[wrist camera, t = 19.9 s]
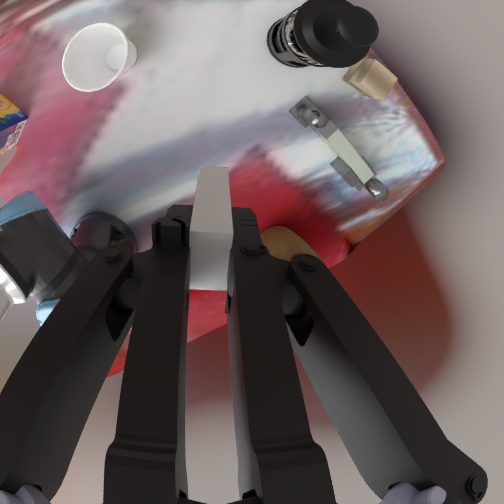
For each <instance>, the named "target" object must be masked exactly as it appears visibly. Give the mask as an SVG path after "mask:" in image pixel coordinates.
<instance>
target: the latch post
mask: <svg viewBox="0 0 504 504" xmlns="http://www.w3.org/2000/svg"><path fill="white" fill-rule="evenodd" d="M289 112H290V113H291V114H292V115H293V116H294V117H295V118H296V119H297V120H298V121H299V122H300V123H301V124H302V125H303V126H304V127H305V128H306V127H307V126H308V125H309V124H308V122H309V123H310V124H312V125H313V126H315V127H316V128H324V127H325V126H326V125H327V123H328V118H327V116H326V115H325V114H324V113H322V112H321V111H320V110H319V109H318V108H317V107H316V106H315V105H314V104H313V103H312V102H311V101H310V100H309V99H308V98H307V97H306V96H305V97H304V98H302V99H301V100H300V101H299V102H298V103H297V104H296V105H295V106H294V107H293V108H292V109H291V110H290V111H289Z"/></svg>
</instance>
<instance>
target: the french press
mask: <svg viewBox="0 0 504 504" xmlns="http://www.w3.org/2000/svg"><path fill="white" fill-rule="evenodd" d="M296 10H298V11H297V12H296V14H293V13H294V12H295V11H296ZM292 14H293V15H292ZM378 31H379V29H378V24H377V22H376V20H375V18H374V17H373V15H372V14H371V13H370V12H368V11H367V10H365V9H363V8H361V7H358V6H354V5H352V4H351V3H349V2H348V1H346V0H308V1H307V2H305V3H304V4H303V5H302V6H300V7H298V8H297V9H295V10H294V11H292V12H291V13H289V14H288V15H287V16H285V17H284V18H282V19H280V20H278V21H277V22H275V23H274V24H273V25H272V26H271V28H270V29H269V31H268V34H267V46H268V49H269V51H270V53H271V54H272V56H273V57H274V58H275V59H276V60H278V61H279V62H280V63H282V64H284V65H286V66H290V67H296V68H299V67H306V66H316V67H334V68H344V67H349V66H352V65H354V64H357V63H358V62H359V61H361V60H362V59H363V58H364V57H365V56H366V54H367V52H368V51H369V48H370V45H371V44H372V43H373V42H374V41H375V40H376V38H377V36H378ZM277 32H278V33H277ZM276 34H277V39H278V43H279V46H280V48H281V50H282V51H283V52H282V53H280V51H279V50H278V48H277V46H276V42H275V38H276ZM318 63H319V64H322V65H314V64H318Z"/></svg>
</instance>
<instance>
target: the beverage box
mask: <svg viewBox="0 0 504 504" xmlns="http://www.w3.org/2000/svg"><path fill="white" fill-rule="evenodd" d="M27 120H28V116H27V115H26V114H25V113H23V112H22V111H21V110H20V109H19V108H17V107H16V106H15V105H14V104H13V103H11V102H10V101H9V100H8V99H7V98H5V97H4V96H3V95H2V94H1V93H0V155H1V154H3V153H4V152H6V151H8V150H9V149H11V148H12V147H14V146H16V145H17V142H18V140H19V138H20V135H21V133H22V131H23V128H24V126H25V124H26V122H27Z"/></svg>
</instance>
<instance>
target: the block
mask: <svg viewBox="0 0 504 504" xmlns="http://www.w3.org/2000/svg"><path fill="white" fill-rule="evenodd" d="M397 79H398V78H396V77H395V76H394V75H393V74H392V73H391V72H390V71H389V70H388V69H386V68H385V67H384V66H383V65H382V64H381V63H379V62H378V61H377V60H376V59H362V60H361V61H359V62H358V63H357V64H354V65H352V66H351V67H350V68H349V70H348V71H347V73H346V74H345V76H344V78H343V79H342V80H343V81H345V82H346V83H348V84H349V85H350V86H352V87H353V88H355V89H356V90H357V91H359V92H360V93H361V94H363V95H364V96H368V97H371V98H374V99H377V100H380V101H384V100H385V98H386V97H387V95H388V94H389V92H390V90H391V89H392V87H393V86H394V84H395V82H396V81H397Z"/></svg>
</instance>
